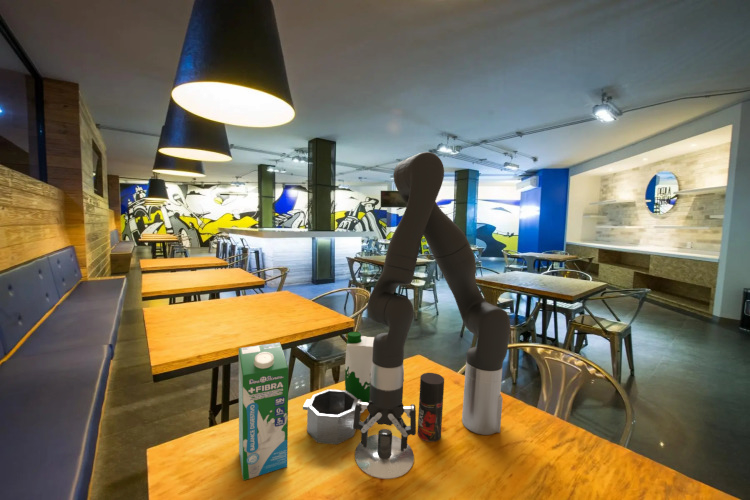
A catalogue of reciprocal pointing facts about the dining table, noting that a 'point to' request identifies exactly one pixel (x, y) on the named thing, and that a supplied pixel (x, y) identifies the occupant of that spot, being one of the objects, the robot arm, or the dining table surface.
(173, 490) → the dining table surface
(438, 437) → the deodorant
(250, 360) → the milk carton
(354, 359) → the soya milk
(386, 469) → the lid
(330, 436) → the pot
